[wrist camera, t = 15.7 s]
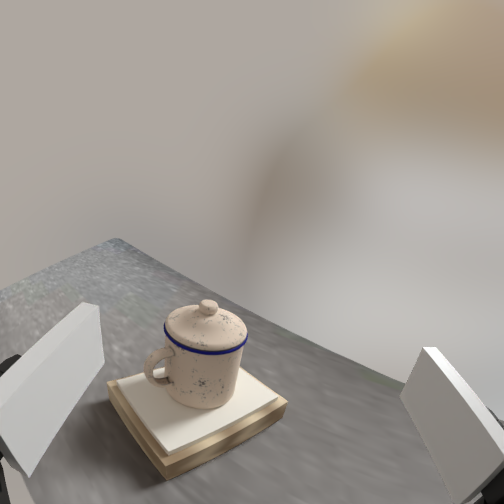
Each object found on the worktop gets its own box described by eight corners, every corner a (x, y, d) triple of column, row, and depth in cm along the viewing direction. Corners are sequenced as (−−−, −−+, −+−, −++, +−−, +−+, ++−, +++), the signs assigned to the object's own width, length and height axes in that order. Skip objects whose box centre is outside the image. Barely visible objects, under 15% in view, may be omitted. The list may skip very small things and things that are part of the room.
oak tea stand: (215, 365, 44) (218, 345, 43) (282, 417, 35) (289, 397, 34) (109, 399, 32) (106, 377, 30) (166, 480, 22) (165, 462, 21)
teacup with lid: (205, 356, 40) (215, 280, 37) (251, 393, 34) (270, 312, 31) (128, 381, 31) (125, 295, 28) (169, 433, 25) (170, 343, 22)
